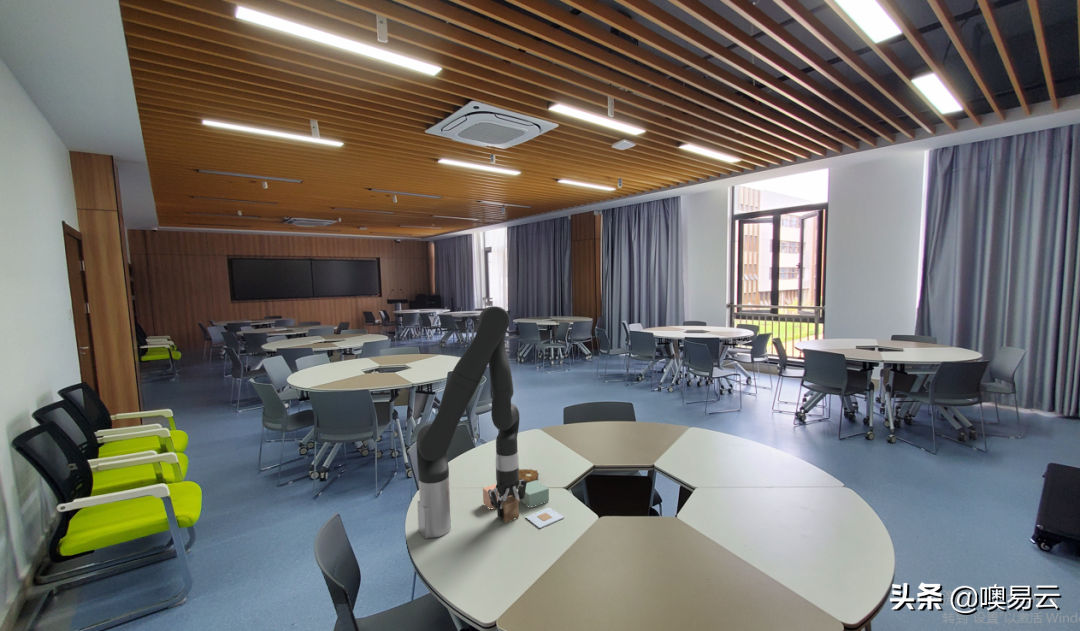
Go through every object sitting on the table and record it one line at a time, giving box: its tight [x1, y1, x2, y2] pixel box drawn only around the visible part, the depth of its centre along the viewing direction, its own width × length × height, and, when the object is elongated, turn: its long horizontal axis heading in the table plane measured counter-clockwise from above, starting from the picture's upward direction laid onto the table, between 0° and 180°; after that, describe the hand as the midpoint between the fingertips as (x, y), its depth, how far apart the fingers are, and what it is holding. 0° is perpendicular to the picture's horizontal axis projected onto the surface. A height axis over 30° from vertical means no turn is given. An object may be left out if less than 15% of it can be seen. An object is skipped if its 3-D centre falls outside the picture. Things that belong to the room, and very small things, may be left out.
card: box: [524, 506, 565, 529], centre depth 143 cm, size 10×8×1 cm
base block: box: [517, 480, 550, 508], centre depth 155 cm, size 8×8×5 cm
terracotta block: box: [482, 483, 503, 510], centre depth 152 cm, size 5×5×6 cm
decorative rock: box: [519, 468, 540, 483], centre depth 171 cm, size 11×4×15 cm
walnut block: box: [500, 496, 520, 523], centre depth 144 cm, size 5×5×6 cm
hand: (508, 514), depth 144 cm, fingers closed on walnut block, 5 cm apart
